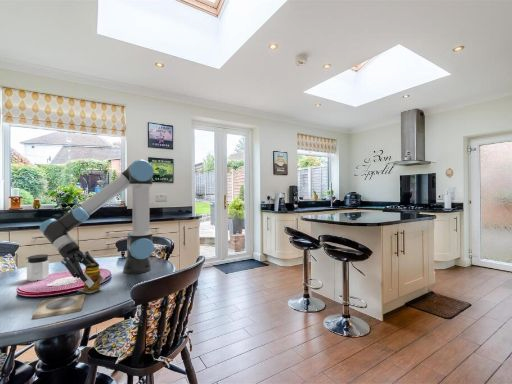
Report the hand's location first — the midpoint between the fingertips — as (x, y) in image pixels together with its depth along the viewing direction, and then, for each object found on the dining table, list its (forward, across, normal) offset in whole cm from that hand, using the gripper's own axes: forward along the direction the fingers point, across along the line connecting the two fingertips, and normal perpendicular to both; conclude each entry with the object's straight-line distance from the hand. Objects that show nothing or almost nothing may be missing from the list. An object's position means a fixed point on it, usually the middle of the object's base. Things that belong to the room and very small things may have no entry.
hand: (97, 282), depth 121 cm
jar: (-28, -11, -34) cm, 46 cm away
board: (+1, +16, -5) cm, 17 cm away
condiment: (0, 0, -5) cm, 5 cm away
